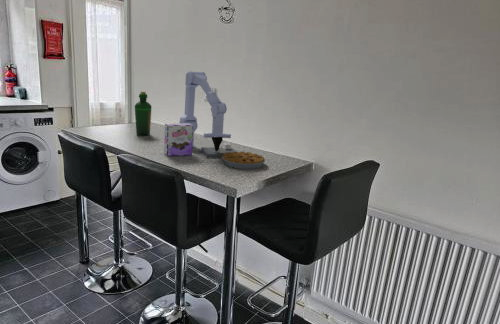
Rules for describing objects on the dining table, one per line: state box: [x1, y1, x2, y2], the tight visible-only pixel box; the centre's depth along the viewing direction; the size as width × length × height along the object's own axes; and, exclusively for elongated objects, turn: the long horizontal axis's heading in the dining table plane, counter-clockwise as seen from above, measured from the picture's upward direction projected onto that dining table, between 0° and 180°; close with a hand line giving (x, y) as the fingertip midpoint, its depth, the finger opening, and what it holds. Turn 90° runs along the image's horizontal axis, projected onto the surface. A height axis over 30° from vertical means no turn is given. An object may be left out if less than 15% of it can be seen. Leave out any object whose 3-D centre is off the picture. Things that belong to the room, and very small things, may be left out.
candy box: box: [163, 122, 193, 157], centre depth 179 cm, size 14×6×16 cm, turn 117°
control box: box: [200, 146, 238, 159], centre depth 189 cm, size 18×16×2 cm
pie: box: [221, 151, 266, 170], centre depth 173 cm, size 22×22×5 cm
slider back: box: [222, 142, 232, 149], centre depth 194 cm, size 3×4×3 cm
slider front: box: [218, 145, 225, 153], centre depth 184 cm, size 3×4×3 cm
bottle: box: [134, 91, 152, 137], centre depth 222 cm, size 11×11×28 cm
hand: (216, 150), depth 184 cm, fingers closed
